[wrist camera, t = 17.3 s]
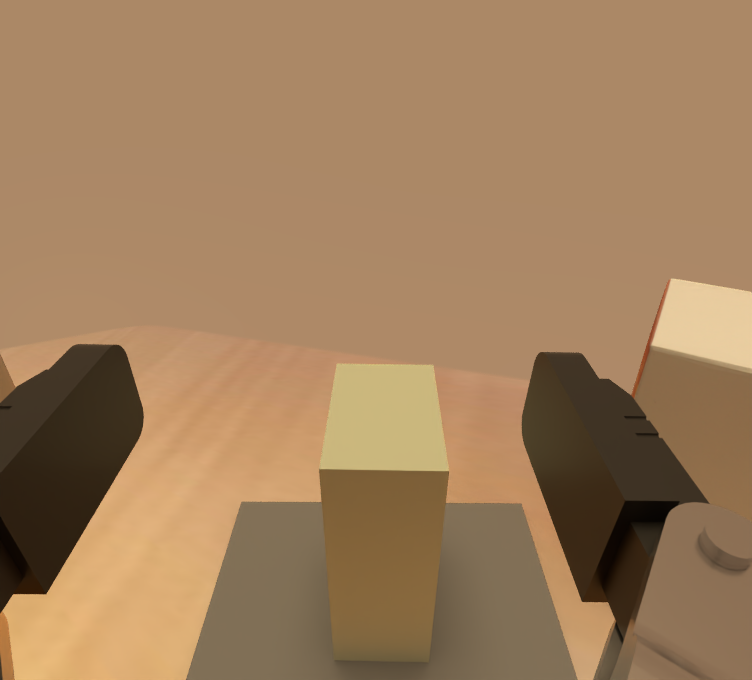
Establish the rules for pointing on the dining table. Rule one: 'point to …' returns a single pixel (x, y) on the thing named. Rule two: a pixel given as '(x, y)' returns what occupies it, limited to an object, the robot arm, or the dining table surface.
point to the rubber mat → (312, 608)
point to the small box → (703, 387)
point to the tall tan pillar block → (383, 510)
